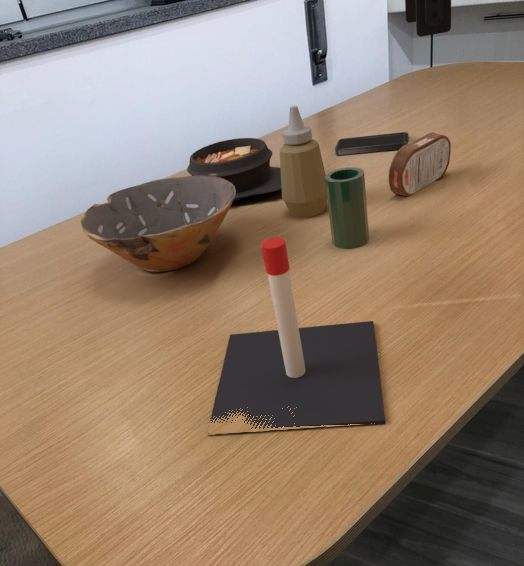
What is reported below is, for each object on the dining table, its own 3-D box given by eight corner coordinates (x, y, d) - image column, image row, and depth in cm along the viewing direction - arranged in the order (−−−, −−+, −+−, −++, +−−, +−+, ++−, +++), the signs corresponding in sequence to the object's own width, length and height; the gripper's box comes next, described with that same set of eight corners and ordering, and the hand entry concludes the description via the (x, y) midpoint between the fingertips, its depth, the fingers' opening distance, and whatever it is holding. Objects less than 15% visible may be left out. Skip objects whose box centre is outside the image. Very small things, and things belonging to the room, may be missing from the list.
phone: (406, 143, 123) (334, 150, 127) (407, 148, 123) (334, 155, 128) (408, 131, 129) (339, 138, 133) (408, 136, 129) (339, 143, 134)
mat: (373, 324, 73) (373, 320, 73) (385, 424, 59) (385, 420, 59) (230, 337, 76) (230, 334, 76) (208, 435, 62) (207, 432, 62)
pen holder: (368, 233, 94) (363, 165, 88) (370, 249, 90) (365, 178, 83) (332, 238, 95) (324, 170, 89) (333, 254, 91) (324, 183, 84)
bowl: (228, 294, 86) (213, 230, 80) (74, 303, 92) (50, 244, 86) (260, 221, 106) (249, 165, 100) (131, 232, 112) (115, 180, 106)
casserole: (161, 212, 118) (149, 170, 113) (198, 177, 132) (189, 139, 127) (280, 208, 109) (273, 163, 104) (307, 171, 123) (302, 129, 118)
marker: (306, 364, 68) (285, 235, 59) (306, 377, 66) (284, 246, 57) (285, 366, 69) (262, 238, 60) (284, 379, 67) (259, 249, 58)
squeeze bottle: (296, 203, 110) (281, 101, 99) (337, 204, 106) (326, 98, 96) (277, 222, 104) (259, 115, 94) (321, 224, 100) (307, 113, 90)
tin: (438, 172, 110) (438, 125, 106) (454, 174, 108) (454, 126, 103) (387, 202, 103) (385, 153, 98) (403, 205, 101) (401, 155, 96)
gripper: (489, -219, 45) (481, 33, 55) (451, -186, 59) (450, 10, 69) (388, -195, 46) (398, 47, 56) (374, -168, 60) (383, 21, 70)
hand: (426, 26), depth 62 cm, fingers open, 9 cm apart
